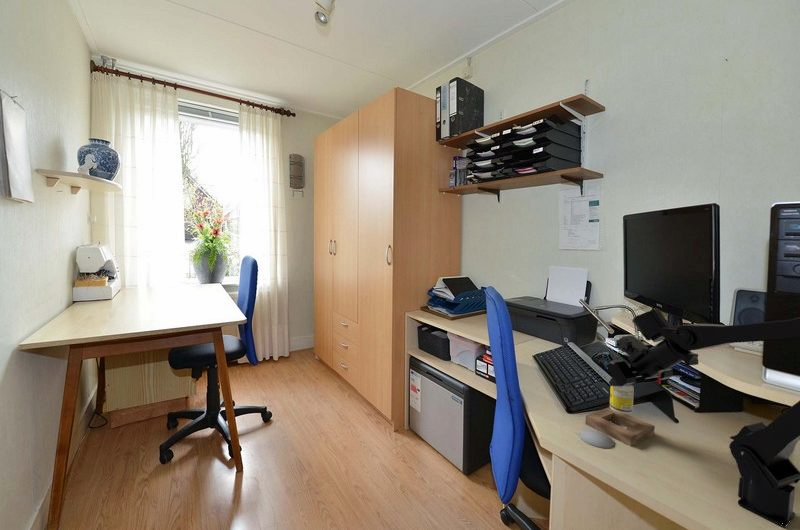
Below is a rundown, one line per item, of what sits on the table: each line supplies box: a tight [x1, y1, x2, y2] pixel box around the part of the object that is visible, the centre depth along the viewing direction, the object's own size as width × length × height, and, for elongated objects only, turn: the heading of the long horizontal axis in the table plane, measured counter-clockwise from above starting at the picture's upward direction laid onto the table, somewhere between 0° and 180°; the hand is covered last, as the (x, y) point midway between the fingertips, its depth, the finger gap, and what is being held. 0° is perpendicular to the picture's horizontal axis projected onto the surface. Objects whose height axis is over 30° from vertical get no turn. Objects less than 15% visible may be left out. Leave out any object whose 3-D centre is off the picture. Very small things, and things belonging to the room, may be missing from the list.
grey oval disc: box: [578, 428, 615, 449], centre depth 89 cm, size 8×8×1 cm
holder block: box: [584, 406, 656, 447], centre depth 94 cm, size 12×12×2 cm
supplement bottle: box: [609, 385, 635, 415], centre depth 94 cm, size 5×5×10 cm
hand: (617, 383), depth 95 cm, fingers closed on supplement bottle, 5 cm apart
